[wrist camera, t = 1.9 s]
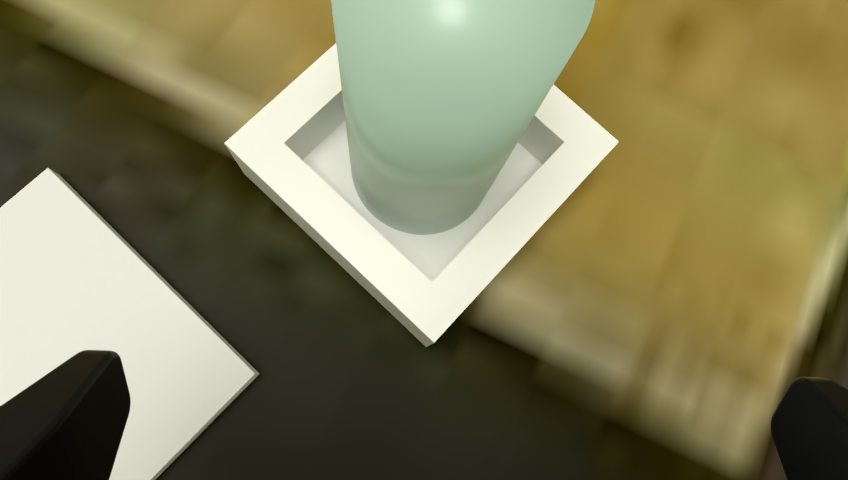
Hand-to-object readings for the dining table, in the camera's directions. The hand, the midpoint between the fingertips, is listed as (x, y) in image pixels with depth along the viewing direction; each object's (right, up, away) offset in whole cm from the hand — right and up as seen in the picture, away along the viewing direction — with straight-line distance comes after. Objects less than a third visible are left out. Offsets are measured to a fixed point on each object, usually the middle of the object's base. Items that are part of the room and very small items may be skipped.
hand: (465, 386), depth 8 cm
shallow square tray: (-1, +4, +14) cm, 15 cm away
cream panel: (-13, -3, +12) cm, 18 cm away
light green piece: (-1, +5, +14) cm, 15 cm away
